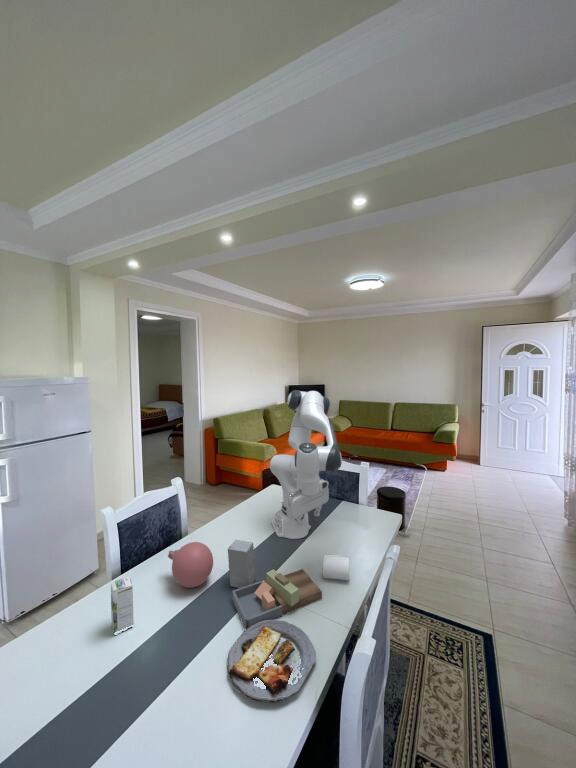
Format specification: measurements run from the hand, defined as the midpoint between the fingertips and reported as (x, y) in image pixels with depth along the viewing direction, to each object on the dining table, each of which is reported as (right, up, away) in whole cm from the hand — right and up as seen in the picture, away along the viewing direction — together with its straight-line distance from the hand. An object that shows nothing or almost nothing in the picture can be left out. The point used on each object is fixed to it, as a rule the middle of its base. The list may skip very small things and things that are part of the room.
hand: (308, 520), depth 123 cm
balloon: (-47, -25, +1) cm, 53 cm away
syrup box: (-62, -26, -20) cm, 70 cm away
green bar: (-10, -22, -9) cm, 26 cm away
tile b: (-14, -22, -14) cm, 30 cm away
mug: (+12, -24, +5) cm, 28 cm away
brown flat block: (-6, -25, -6) cm, 26 cm away
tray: (-19, -25, -13) cm, 34 cm away
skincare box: (-26, -25, 0) cm, 36 cm away
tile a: (-16, -23, -9) cm, 29 cm away
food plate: (-13, -27, -32) cm, 44 cm away
